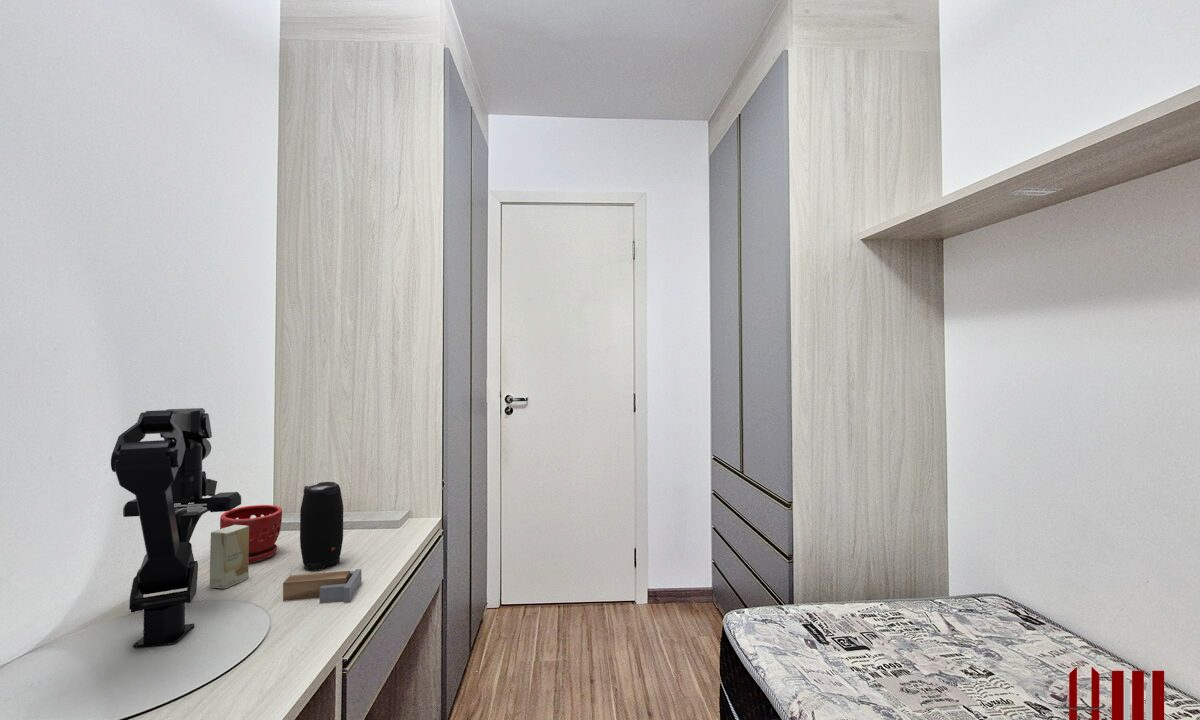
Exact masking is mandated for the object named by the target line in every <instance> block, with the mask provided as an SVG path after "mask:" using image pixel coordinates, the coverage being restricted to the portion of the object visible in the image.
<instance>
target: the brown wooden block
mask: <svg viewBox="0 0 1200 720" xmlns="http://www.w3.org/2000/svg"><path fill="white" fill-rule="evenodd" d="M350 571H351V570H342V571H341V570H340V571H329V572H326V571H325V572H316V573H307V574H305V573H304V574H302V573H301V574H291V575H289V576H288V577H287V578H286V579H285V580H284V581H283V582H282V601H283V602H287V601H289V602H291V601H297V600H299V601H300V600H310V599H320V587H321V586H323V585H335V584H347V582H348V581H349V579H350Z"/></svg>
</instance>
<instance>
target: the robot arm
mask: <svg viewBox="0 0 1200 720" xmlns="http://www.w3.org/2000/svg"><path fill="white" fill-rule="evenodd" d="M155 434H159V435H160V438H161V440H160V439H159V440H145V441H143V440H144V438H145V437H146V435H155ZM212 437H213V434H212V427H211V421H210V415H209V413H206V409H204V408H203V407H195V408H169V409H163V410H162V409H161V410H160V409H159V410H158V409H157V410H146V411H144V412H141V413H140V414H139V416H138V419H137V422H136V423H134V424H133V425H131V426H130V427H128V429H126V430H125V431H124V432H122V433H121V434H119V435H118V437H117V440H116V442H115V445H114V447H113V451H112V453H111V457H110V468H111V471H112V472H114V473H115V476H116V479H117V482H118V484H119V486H120V487H121V488H123V489H125V490H127V492H129V493H131V494H132V495H135V498H134V499H131V500H128V501H127V502H126V503H125V504H124V506H123V508H122V515H123V516H122V517H124V518H129V517H130V518H131V517H139V522H140V526H141V527H140V528H141V532H142V536H143V541H144V542H143V544H144V546H145V547H144V548H145V553H146V554H145V555H144V557H143V558H142V559H143V560H142V563H141V566H140V568H139V569H138V570H137V571H136V576H135V577H134V578H133V579H132V584H131V590H130V594H129V603H128V605H129V607H128V608H129V610H130V613H131V614H133V613H135V612H140V611H143V632H142V633H143V636H142V637H140V639H138V640H137V641H136V642H134V643H133V645H132V646H133V647H132V648H133V649H134V648H136V649H137V648H143V647H144V648H145V647H155V646H167V645H174V644H176V643H177V642H178V641H180V640H182V638H183V637H184V636H185V635H187V633H189V632H190V631H191V630H192V629H193V628H194V627H195V623H187V624H186V604H190V603H192V601H193V599H194V598H195V596H196V594H197V591H198V590H197V588H198V587H197V586H198V575H199V574H198V573H199V564H198V561H197V560H195V558H194V553H193V546H192V543H191V542H190V540H191V539H192V536H193V533H194V531H195V529H196V527H197V524H198V522H199V520H200V519H201V517H202V516H203V515H204V514H206V513H207V512H210V513H218V512H219V513H220V512H221V513H225V512H227V511H230V510H232V509H236V508H238V507H239V506H240V505H242V495H241V494H240V493H239V492H238V491H228V492H224V491H223V492H218V493H216V490H217V484H218V480H214V479H211V478H207V473H206V471H205V470H204V471H203V460H205V459H206V458H207V457H208V456H209V455H210V454H211V452H212V444H211V442H210V441H209V440H208V439H211V438H212ZM162 438H163V440H162ZM207 496H208V497H207ZM184 589H186V590H184ZM177 590H181V591H177ZM170 591H175V592H170ZM163 592H165V593H164V594H160V593H163ZM166 592H169V593H166ZM157 593H159V594H158V595H157ZM151 594H156V595H151ZM144 595H149V596H144ZM150 595H151V596H150Z"/></svg>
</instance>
